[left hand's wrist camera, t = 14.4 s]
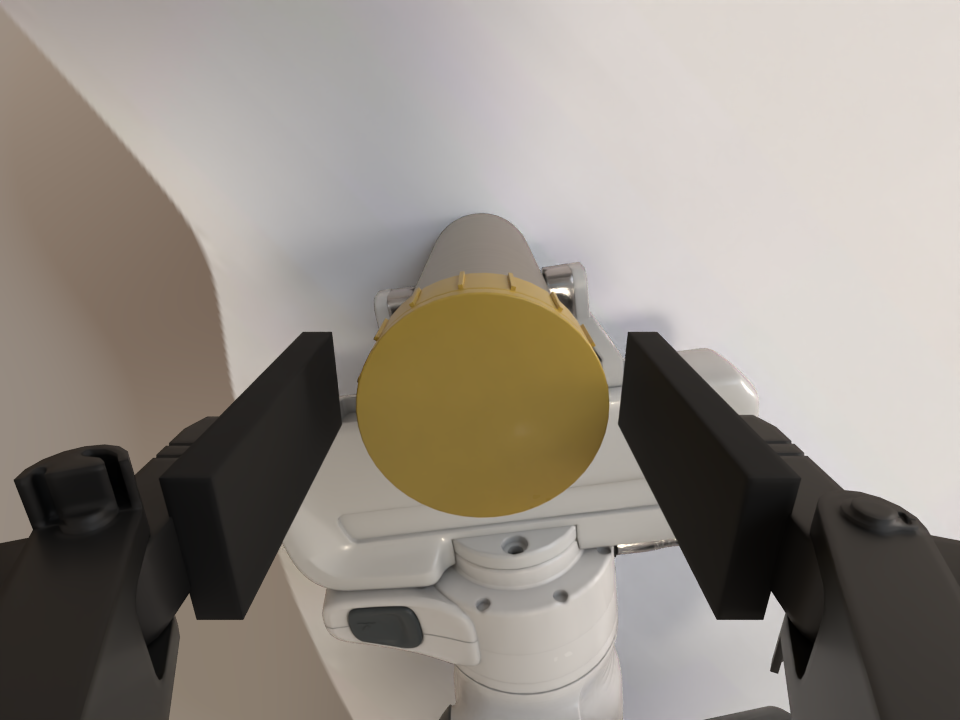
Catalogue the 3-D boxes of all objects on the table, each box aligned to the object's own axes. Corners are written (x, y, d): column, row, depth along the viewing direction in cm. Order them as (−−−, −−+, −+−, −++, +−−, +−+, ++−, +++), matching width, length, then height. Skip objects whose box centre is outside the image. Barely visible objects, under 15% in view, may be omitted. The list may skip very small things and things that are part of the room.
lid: (477, 510, 15) (477, 557, 13) (323, 377, 13) (300, 410, 11) (640, 385, 13) (663, 420, 12) (488, 218, 12) (489, 231, 10)
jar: (479, 330, 28) (478, 529, 13) (410, 262, 26) (327, 402, 12) (551, 266, 26) (636, 410, 12) (483, 190, 25) (488, 251, 11)
